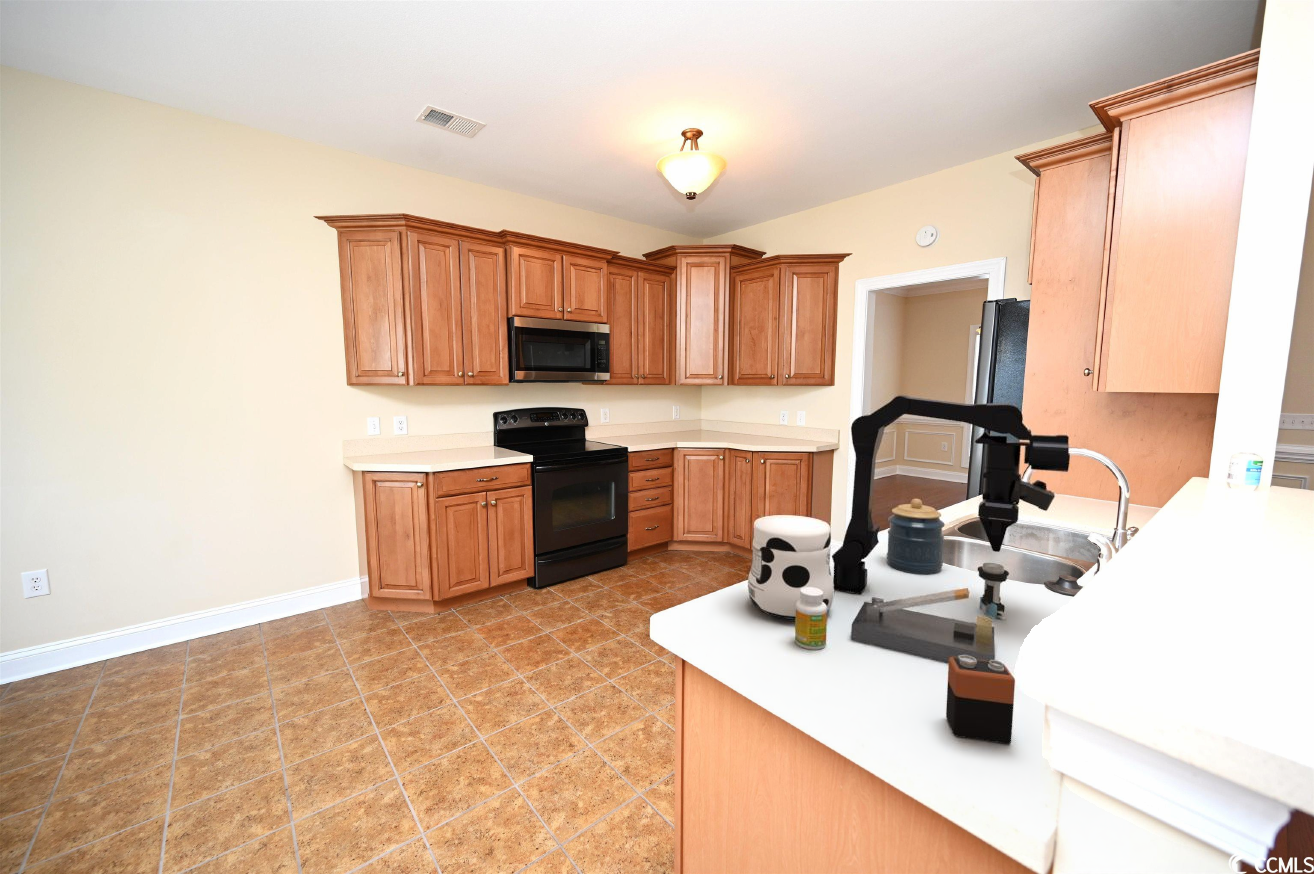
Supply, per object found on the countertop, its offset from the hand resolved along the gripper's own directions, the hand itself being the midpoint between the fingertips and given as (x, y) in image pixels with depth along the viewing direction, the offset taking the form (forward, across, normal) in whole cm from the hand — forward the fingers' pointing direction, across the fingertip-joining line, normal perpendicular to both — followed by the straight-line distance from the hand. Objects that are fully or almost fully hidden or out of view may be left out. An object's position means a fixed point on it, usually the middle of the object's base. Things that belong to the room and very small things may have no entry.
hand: (997, 545), depth 105 cm
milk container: (+15, -19, +35) cm, 43 cm away
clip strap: (+8, -20, +11) cm, 24 cm away
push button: (+15, +1, 0) cm, 15 cm away
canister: (+15, +24, +18) cm, 33 cm away
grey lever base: (+15, -20, +10) cm, 27 cm away
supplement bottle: (+15, -31, +27) cm, 44 cm away
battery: (+15, -43, 0) cm, 46 cm away
